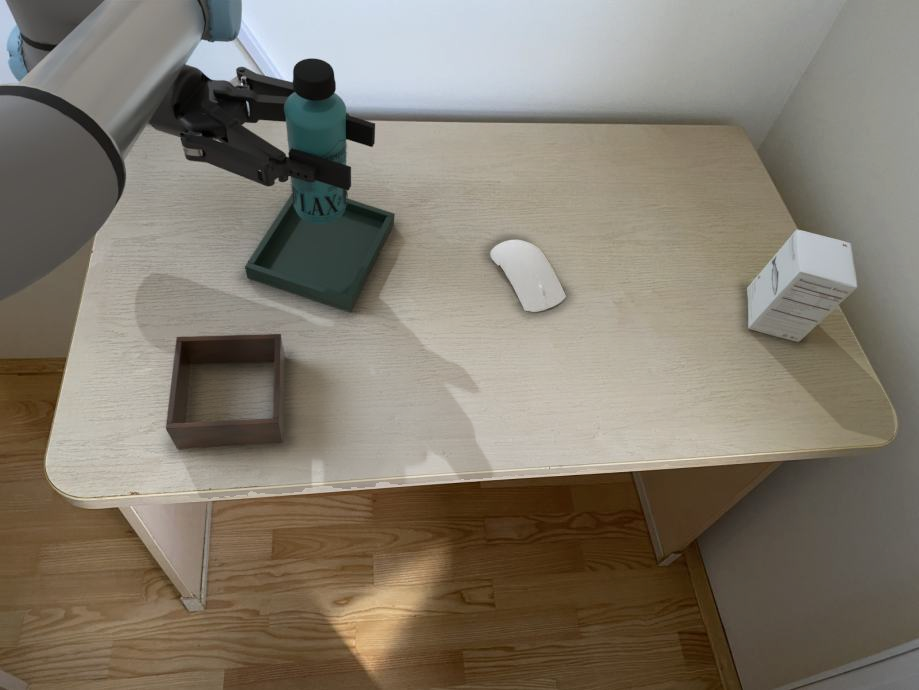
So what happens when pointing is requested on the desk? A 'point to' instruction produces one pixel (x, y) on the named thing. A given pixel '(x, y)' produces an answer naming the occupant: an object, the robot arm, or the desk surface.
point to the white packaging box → (801, 285)
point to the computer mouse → (529, 274)
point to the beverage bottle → (316, 137)
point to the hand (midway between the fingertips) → (361, 156)
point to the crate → (218, 353)
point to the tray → (322, 253)
